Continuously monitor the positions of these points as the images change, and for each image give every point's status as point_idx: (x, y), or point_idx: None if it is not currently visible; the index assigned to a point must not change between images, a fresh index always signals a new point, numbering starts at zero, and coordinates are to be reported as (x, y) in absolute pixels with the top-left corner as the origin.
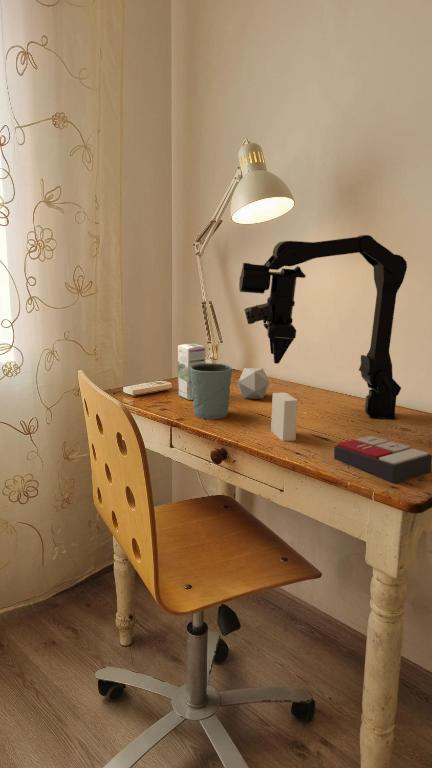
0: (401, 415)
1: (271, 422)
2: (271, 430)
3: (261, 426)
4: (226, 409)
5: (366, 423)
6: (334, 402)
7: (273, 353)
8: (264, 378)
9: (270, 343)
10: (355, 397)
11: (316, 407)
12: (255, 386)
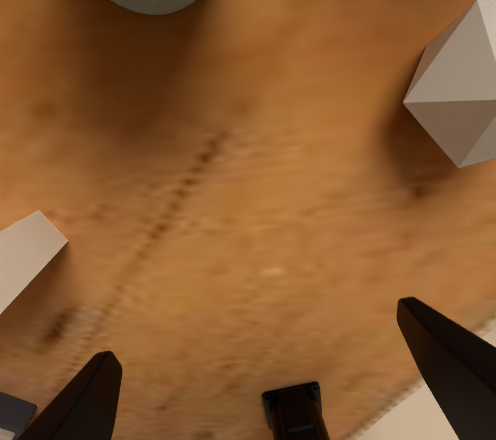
0: None
1: (20, 222)
2: (32, 213)
3: (73, 174)
4: (125, 5)
5: (221, 388)
6: (391, 322)
7: (399, 314)
8: (474, 148)
9: (471, 372)
10: None
11: (335, 290)
12: (424, 105)
